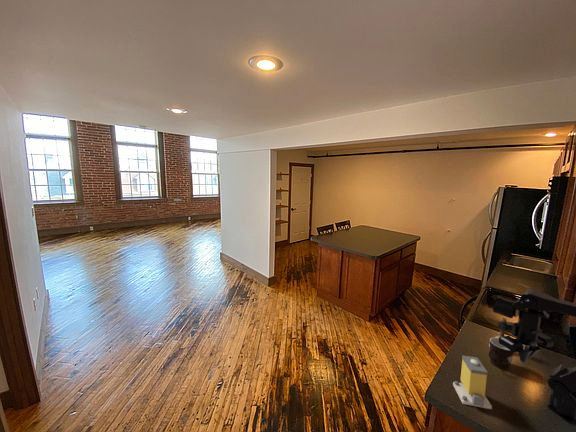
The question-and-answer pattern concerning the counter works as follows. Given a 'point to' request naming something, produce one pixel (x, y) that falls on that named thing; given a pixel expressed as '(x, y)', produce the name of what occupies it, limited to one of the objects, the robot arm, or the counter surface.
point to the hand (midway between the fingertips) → (522, 361)
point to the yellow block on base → (473, 375)
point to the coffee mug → (500, 354)
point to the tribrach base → (471, 397)
